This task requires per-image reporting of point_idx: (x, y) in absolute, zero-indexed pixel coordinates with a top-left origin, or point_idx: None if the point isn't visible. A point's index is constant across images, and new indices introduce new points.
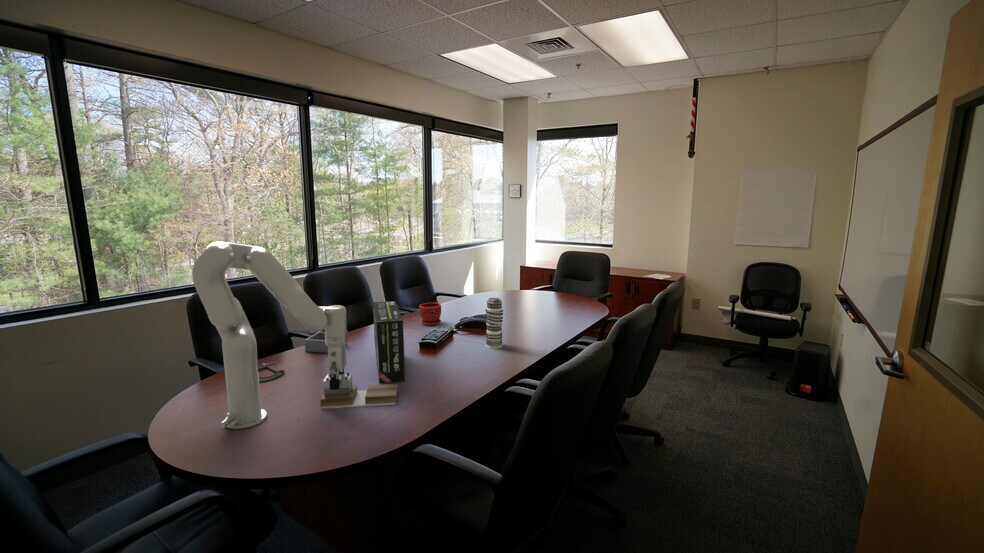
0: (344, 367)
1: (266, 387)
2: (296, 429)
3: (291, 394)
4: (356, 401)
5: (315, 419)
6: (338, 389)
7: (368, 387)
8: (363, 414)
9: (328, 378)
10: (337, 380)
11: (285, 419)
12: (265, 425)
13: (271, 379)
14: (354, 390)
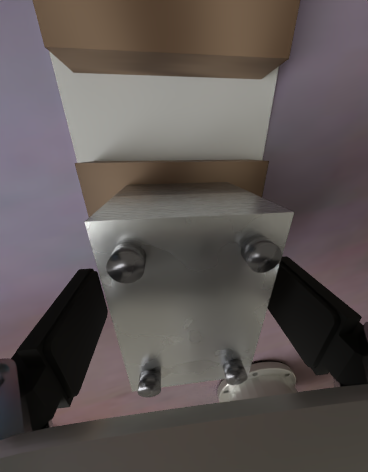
0: (285, 445)
1: (83, 414)
2: (346, 293)
3: (124, 365)
4: (216, 143)
5: (311, 267)
6: (283, 257)
7: (100, 45)
8: (362, 79)
9: (244, 372)
10: (341, 313)
11: (278, 330)
12: (292, 350)
13: None
14: (159, 165)
